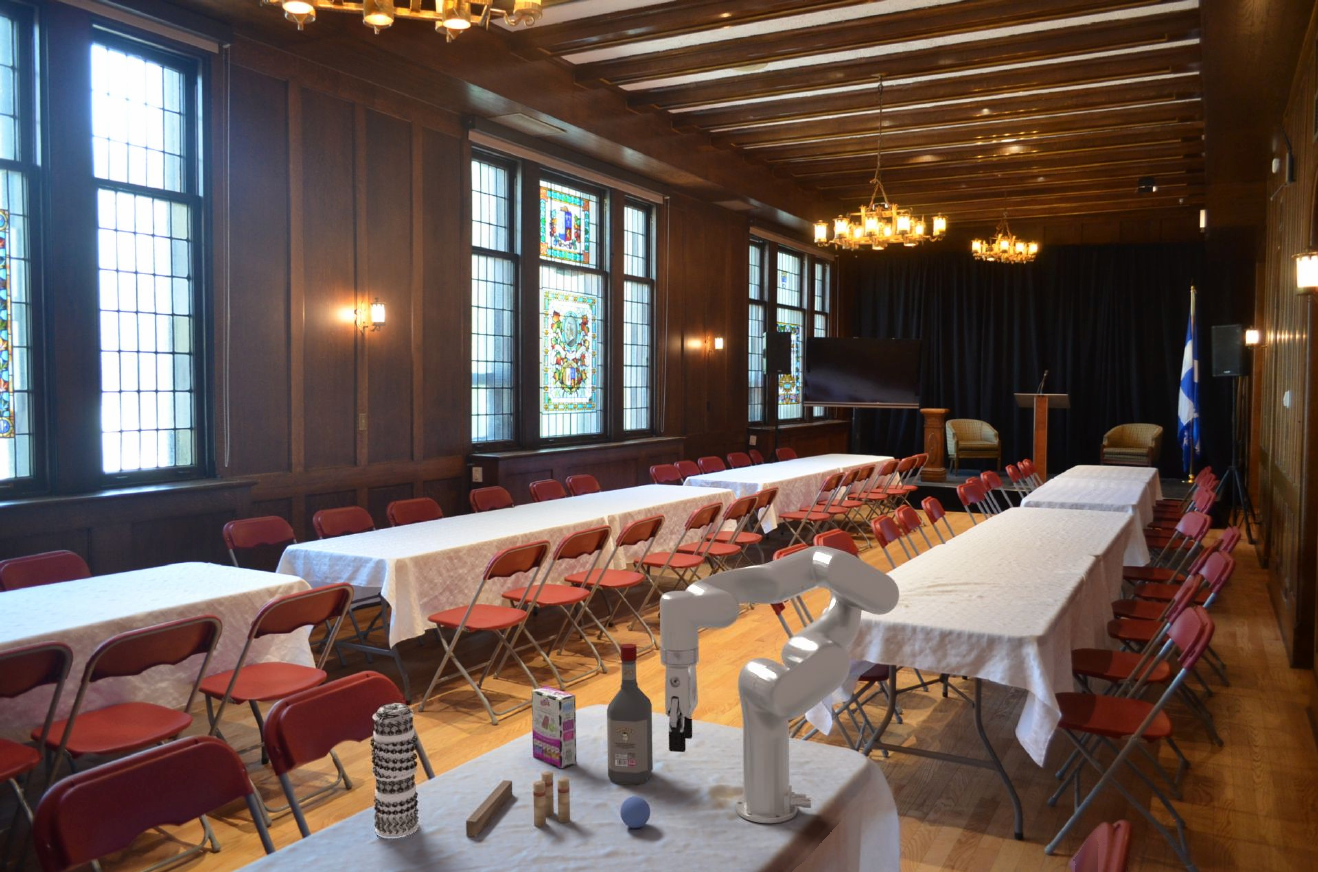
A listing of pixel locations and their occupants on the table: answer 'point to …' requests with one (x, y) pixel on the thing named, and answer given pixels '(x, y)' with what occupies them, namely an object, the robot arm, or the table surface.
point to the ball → (635, 812)
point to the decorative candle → (394, 770)
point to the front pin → (563, 800)
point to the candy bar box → (554, 726)
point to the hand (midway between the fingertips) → (680, 743)
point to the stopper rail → (488, 808)
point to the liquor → (629, 727)
